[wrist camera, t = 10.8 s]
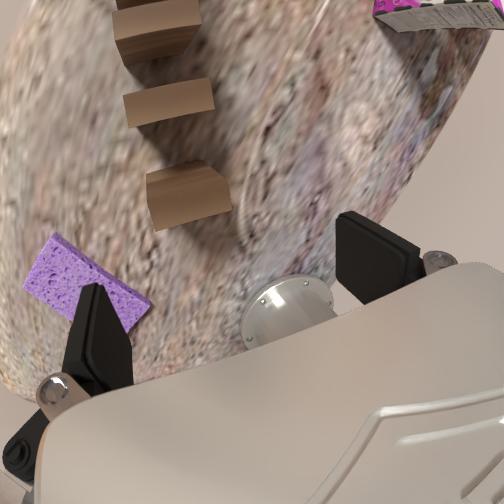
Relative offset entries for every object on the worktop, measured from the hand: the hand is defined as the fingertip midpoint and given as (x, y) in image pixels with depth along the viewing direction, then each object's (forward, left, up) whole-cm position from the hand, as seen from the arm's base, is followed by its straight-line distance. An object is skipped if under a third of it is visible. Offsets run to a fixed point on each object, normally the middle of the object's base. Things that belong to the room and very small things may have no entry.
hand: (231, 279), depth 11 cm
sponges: (-13, +8, -18) cm, 23 cm away
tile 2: (+6, +3, -17) cm, 19 cm away
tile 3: (+11, +5, -17) cm, 21 cm away
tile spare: (0, 0, -17) cm, 17 cm away
